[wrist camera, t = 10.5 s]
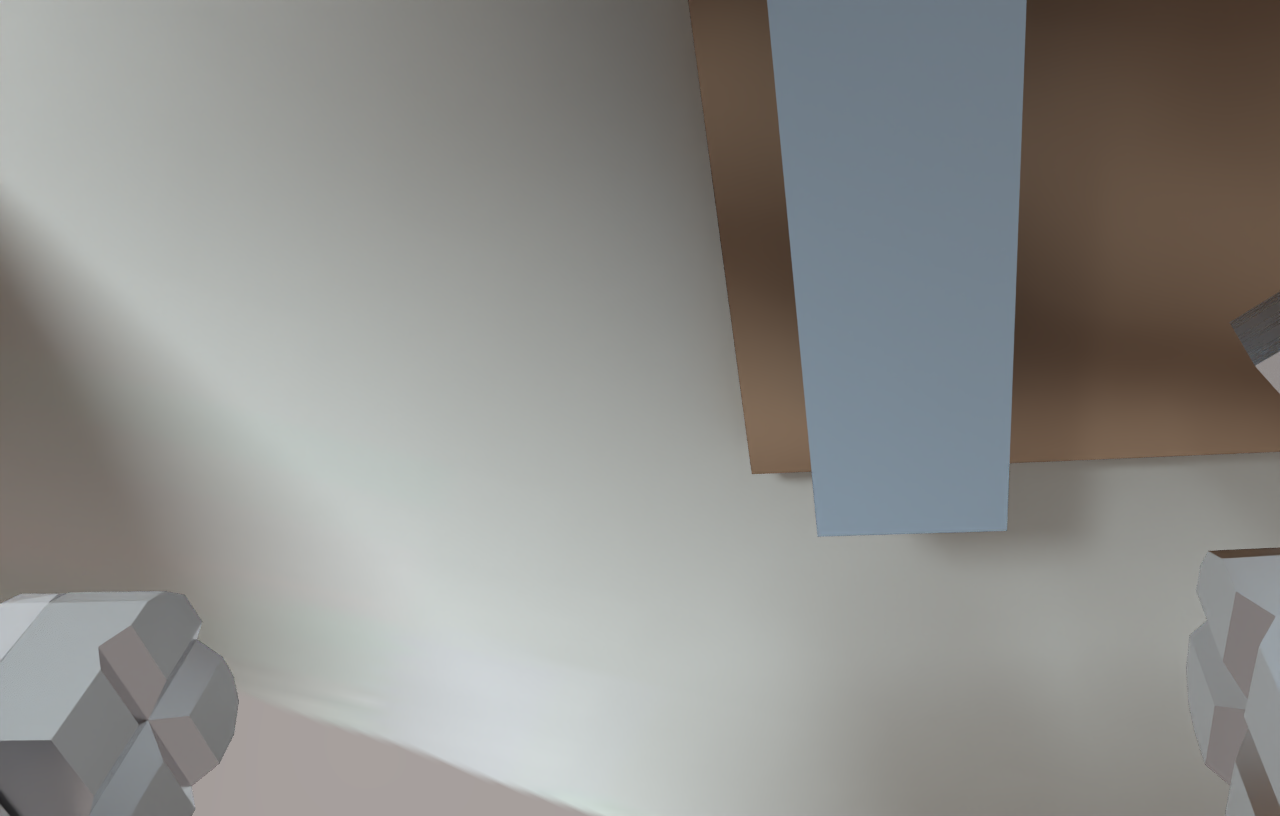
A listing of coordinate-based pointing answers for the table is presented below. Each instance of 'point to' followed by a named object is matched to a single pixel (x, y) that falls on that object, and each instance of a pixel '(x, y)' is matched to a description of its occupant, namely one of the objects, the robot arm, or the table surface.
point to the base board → (1059, 227)
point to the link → (903, 252)
